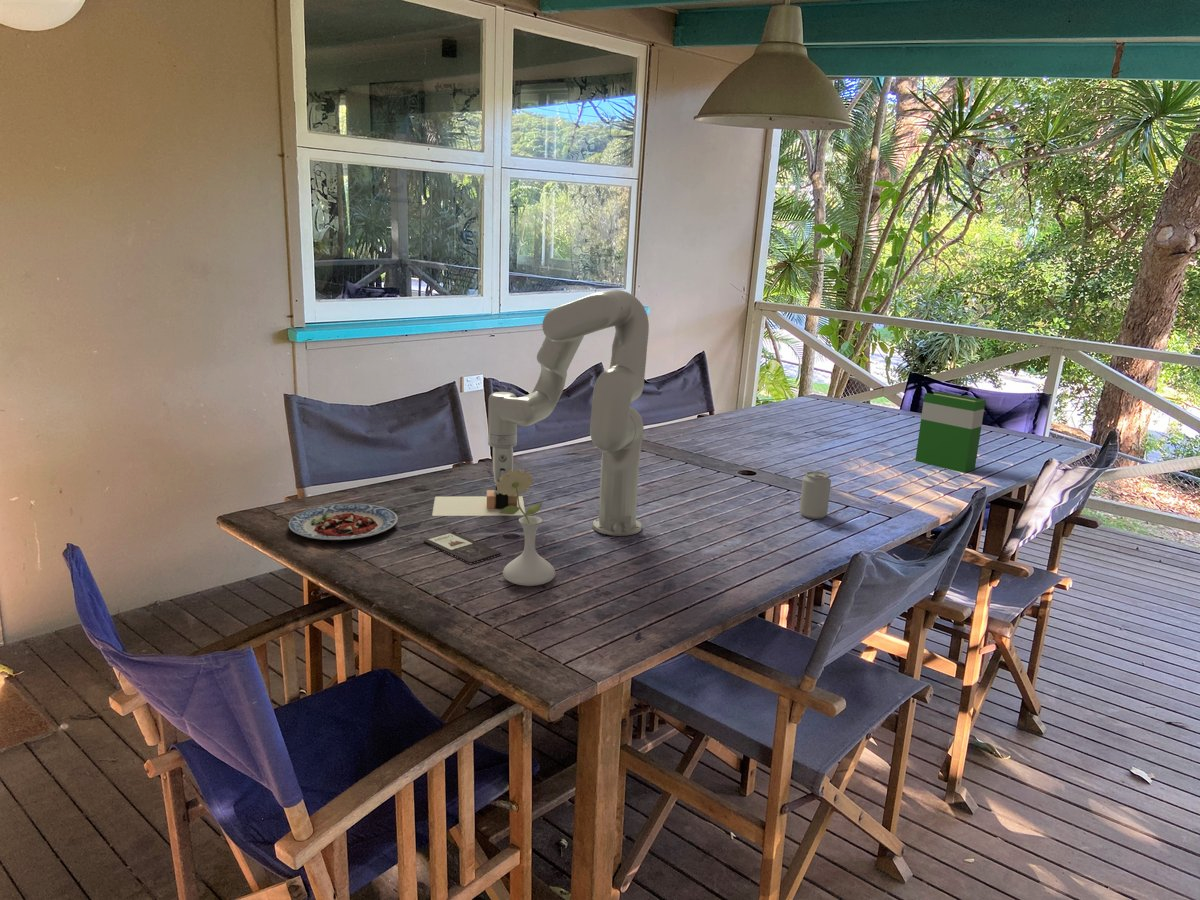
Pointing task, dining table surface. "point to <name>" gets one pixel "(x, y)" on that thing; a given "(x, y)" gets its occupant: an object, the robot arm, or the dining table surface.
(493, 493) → the orange-brown block
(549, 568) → the flower in vase
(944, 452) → the green cereal box
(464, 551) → the chocolate bar
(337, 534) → the ceramic plate
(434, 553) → the dining table surface
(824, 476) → the can
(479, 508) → the mat
